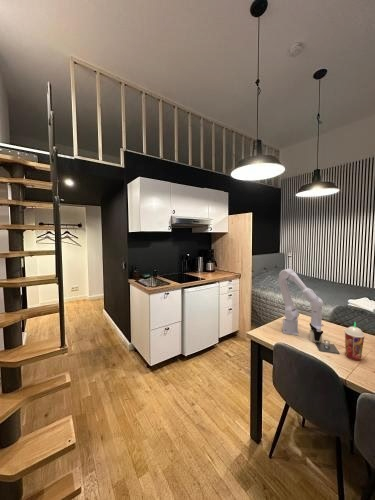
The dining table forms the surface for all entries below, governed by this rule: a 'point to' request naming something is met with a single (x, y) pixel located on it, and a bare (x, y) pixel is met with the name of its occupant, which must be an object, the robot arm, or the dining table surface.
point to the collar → (313, 337)
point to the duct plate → (331, 350)
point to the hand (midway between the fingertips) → (315, 337)
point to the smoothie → (354, 342)
